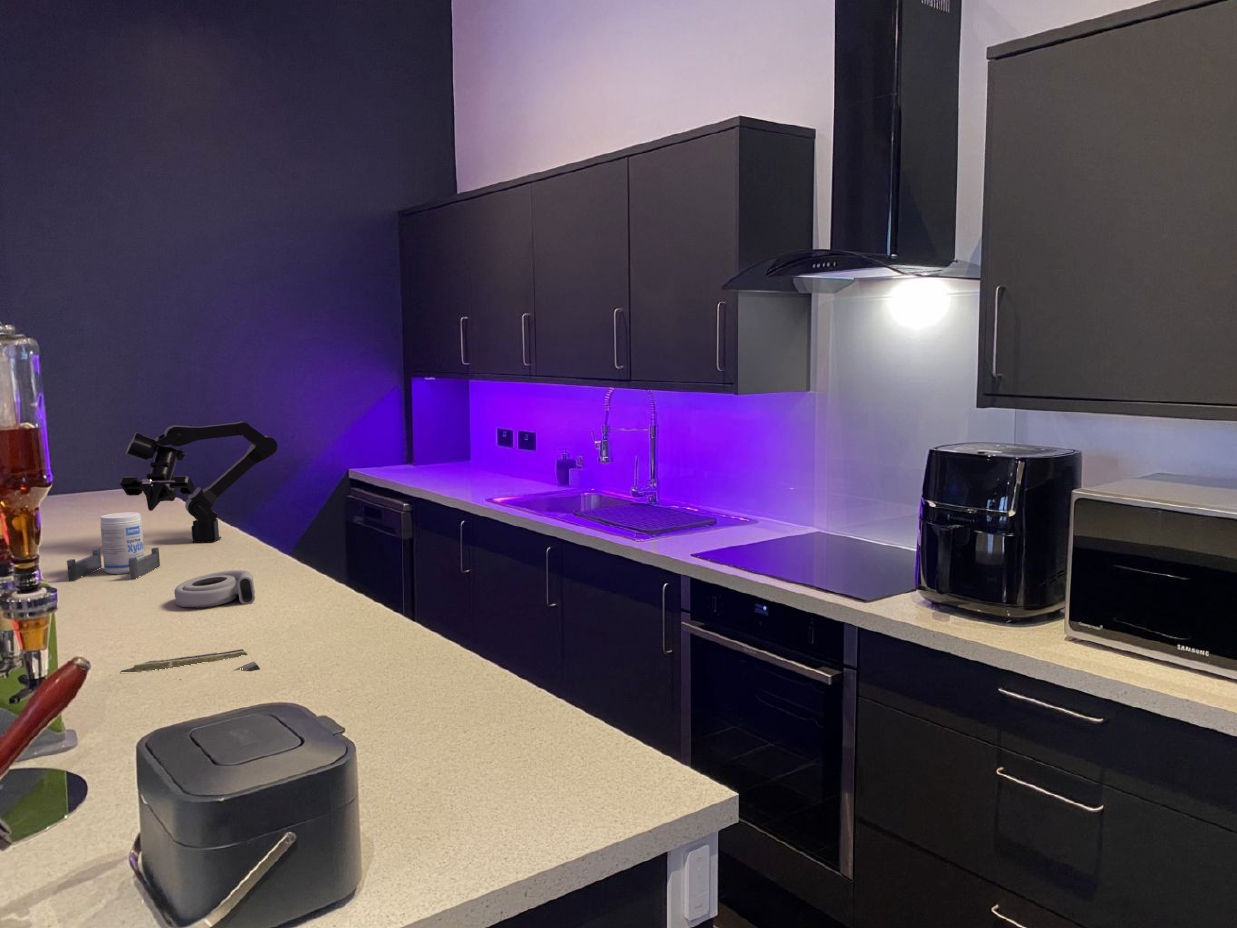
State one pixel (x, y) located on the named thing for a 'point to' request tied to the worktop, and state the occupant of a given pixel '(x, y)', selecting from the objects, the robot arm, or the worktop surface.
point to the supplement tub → (121, 541)
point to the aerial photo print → (193, 662)
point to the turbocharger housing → (216, 589)
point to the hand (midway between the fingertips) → (150, 510)
